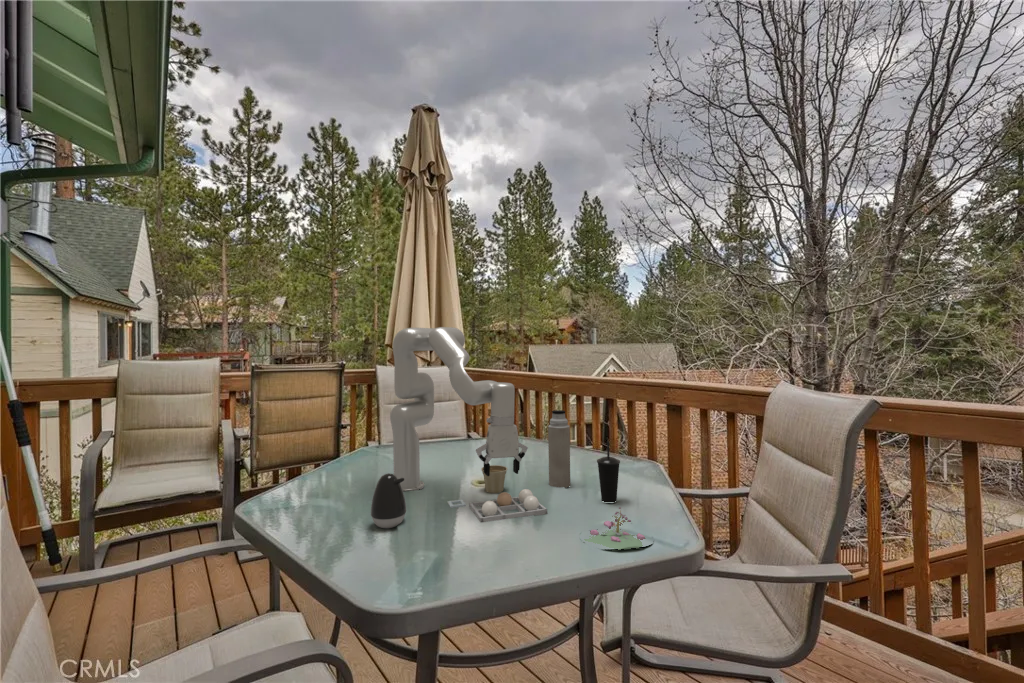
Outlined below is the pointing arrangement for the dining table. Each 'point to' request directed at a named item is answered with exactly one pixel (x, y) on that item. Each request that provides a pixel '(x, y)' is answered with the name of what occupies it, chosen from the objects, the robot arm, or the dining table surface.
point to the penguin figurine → (388, 502)
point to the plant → (616, 536)
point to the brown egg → (504, 499)
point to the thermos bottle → (559, 450)
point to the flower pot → (495, 478)
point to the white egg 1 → (489, 508)
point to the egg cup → (456, 504)
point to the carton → (540, 510)
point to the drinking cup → (608, 477)
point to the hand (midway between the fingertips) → (501, 473)
